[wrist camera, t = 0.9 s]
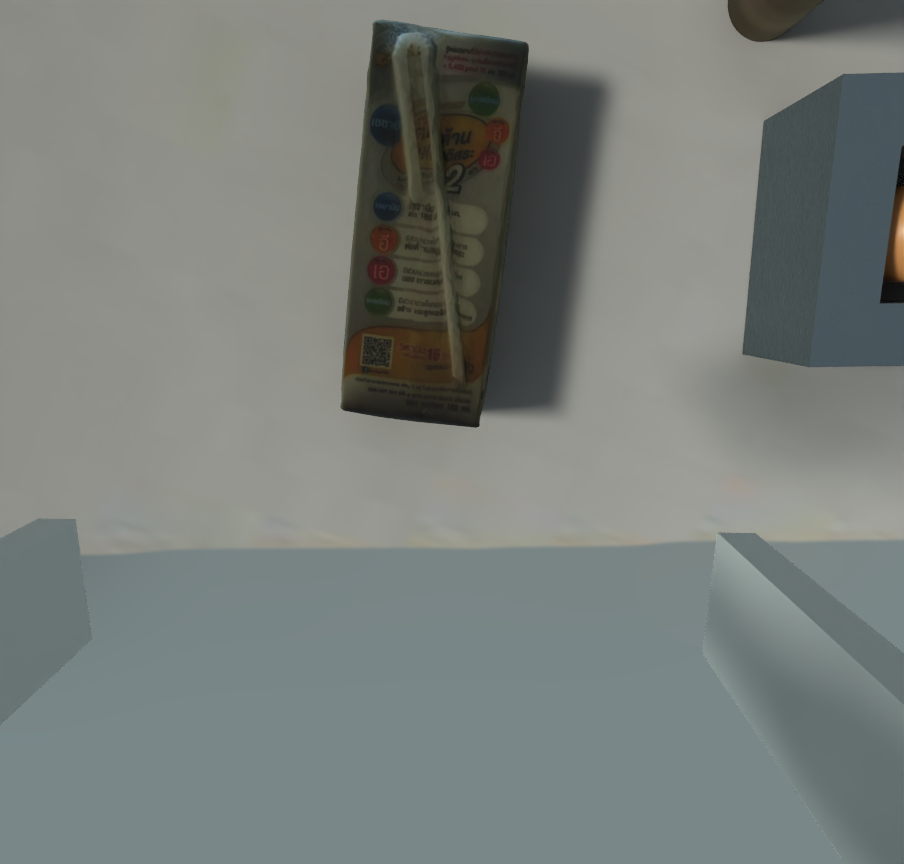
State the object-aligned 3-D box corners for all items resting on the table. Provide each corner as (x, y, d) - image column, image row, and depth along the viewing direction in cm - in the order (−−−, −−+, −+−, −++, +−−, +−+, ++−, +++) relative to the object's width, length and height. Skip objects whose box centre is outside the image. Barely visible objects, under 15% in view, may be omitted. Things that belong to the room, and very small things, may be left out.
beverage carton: (524, 81, 33) (539, 28, 26) (479, 414, 37) (482, 439, 31) (383, 63, 33) (364, 5, 26) (354, 399, 37) (331, 420, 31)
